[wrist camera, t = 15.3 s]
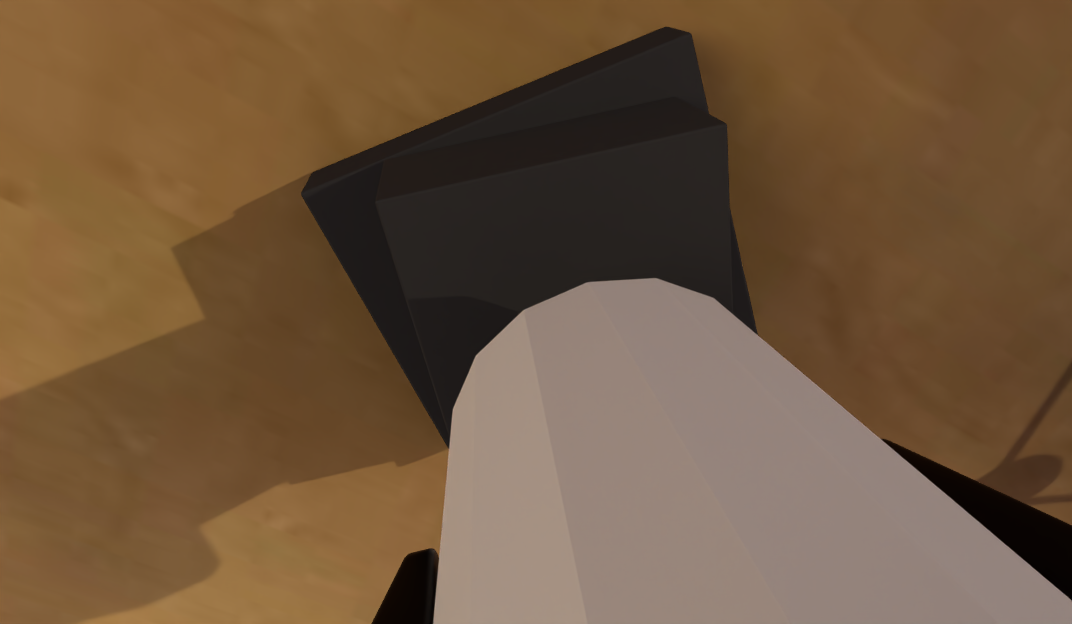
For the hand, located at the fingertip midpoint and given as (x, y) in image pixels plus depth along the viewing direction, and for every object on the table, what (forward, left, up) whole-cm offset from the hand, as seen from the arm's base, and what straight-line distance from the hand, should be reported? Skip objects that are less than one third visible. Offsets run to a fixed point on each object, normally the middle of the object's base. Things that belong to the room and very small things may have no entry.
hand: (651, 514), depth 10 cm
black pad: (0, 0, -7) cm, 7 cm away
